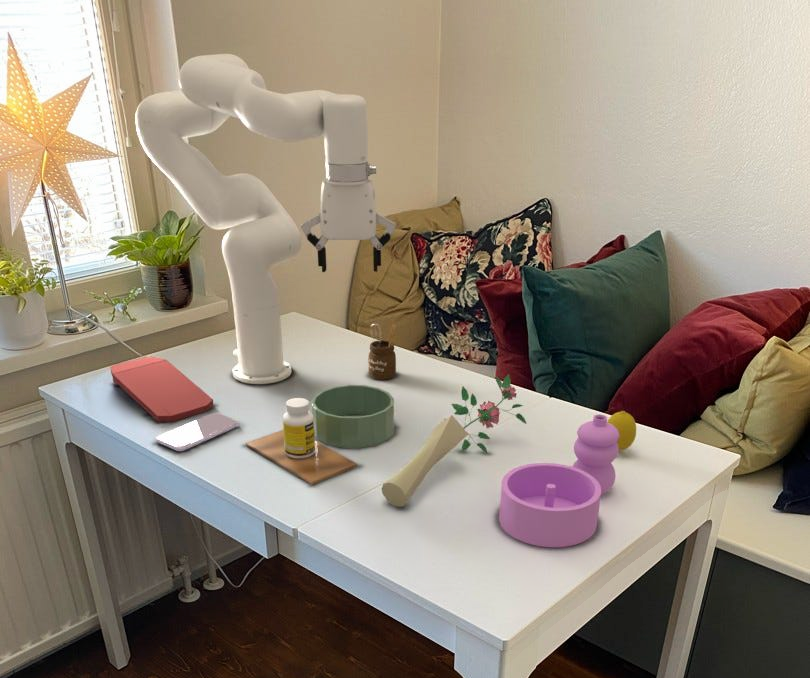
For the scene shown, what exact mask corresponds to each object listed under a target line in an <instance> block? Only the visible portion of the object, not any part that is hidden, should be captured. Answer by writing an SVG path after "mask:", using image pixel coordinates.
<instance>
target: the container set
mask: <svg viewBox="0 0 810 678" xmlns="http://www.w3.org/2000/svg"><path fill="white" fill-rule="evenodd" d="M592 418H593V419H592V420H589V421H587V422H584V423H581V424H580V425H579V427H578V429H577V431H576V435H577V438H576V439H575V441H574V444H573V452H574V455H575V457H576V458H577V459H576V461H575V462H574V463H572V465H571V466H570V465H566V464H563V463H555V462H536V463H535V462H534V463H527V464H523V465H519V466H516V467H515V468H512V469H511V470H509V471H508V472H506V473H505V474H504V475H503V477H502V479H501V485H500V486H501V487H500V500H499V515H498V522H499V525H500V527H501V528H502V530H503V531H504V532H505V533H507V535H508V536H510V537H512V538H513V539H515V540H517V541H520V542H522V543H525V544H529V545H532V546H537V547H544V548H566V547H573V546H575V545H579V544H581V543H584V542H586V541H587V540H589V539H590V538H591V537H593V535H594V534H595V532H596V531H597V530H596V529H597V524H598V518H599V511H600V504H601V497H602V495H604V494H605V493H606V492H607V491H609V490H611V488H612V487H613V485H614V484H615V481H616V470H615V467H614V465H613V464H612V462H615V460H616V459H617V457H618V455H619V453H620V451H619V447H618V444H617V440H618V439H619V432H618V429H617V428H616V427H614V426H613V425H612V424H610V423H608V422H607V421H608V416H607V415H604V414H593V417H592Z"/></svg>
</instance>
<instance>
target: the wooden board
mask: <svg viewBox="0 0 810 678" xmlns="http://www.w3.org/2000/svg"><path fill="white" fill-rule="evenodd" d="M245 445H246V447H248V448H250V449H251V450H253V451H254V452H256V453H258V454H259V455H261V456H263V457H265V458H266V459H268V460H270V462H273V463H274V464H276V465H278V466H279V467H281V468H283V469H285V470H286V471H288V472H289V473H291V474H293V475H295V476H297V477H298V478H299V479H301V480H302V481H304V482H306V483H308V484H310V485H311V486H313V485H315V484H317V483H321V482H323V481H325V480H328V479H330V478H333V477H335V476H338V475H340V474H343V473H345V472H348V471H350V470H352V469H355V468H358V463H356V462H355V461H353V460H351V459H349V458H348V457H346V456H345V455H342V454H340V453H338V452H337V451H335V450H333V449H331V448H329V447H327V446H326V445H323V443H320V442H318V441H316V440H315V452H314V454H313V455H312V456H310V457H308V458H303V459H295V458H291V457H289V456H287V455H286V453H285V446H284V430H283V429H281V430H278V431H276V432H273V433H270V434H267V435H265V436H264V435H263V436H262V437H259V438H256V439H253V440H249V441H248V442H245Z"/></svg>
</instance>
